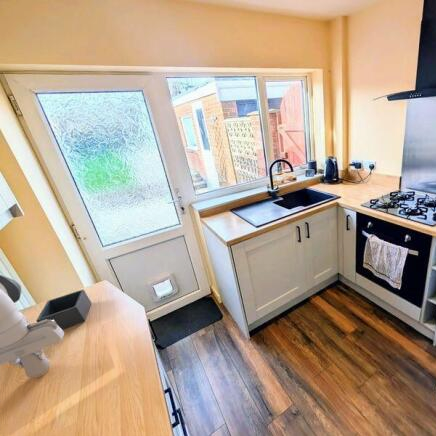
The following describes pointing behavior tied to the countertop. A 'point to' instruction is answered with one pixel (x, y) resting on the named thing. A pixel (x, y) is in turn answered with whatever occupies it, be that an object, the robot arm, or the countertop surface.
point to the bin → (67, 309)
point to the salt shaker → (33, 364)
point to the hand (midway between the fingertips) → (33, 362)
